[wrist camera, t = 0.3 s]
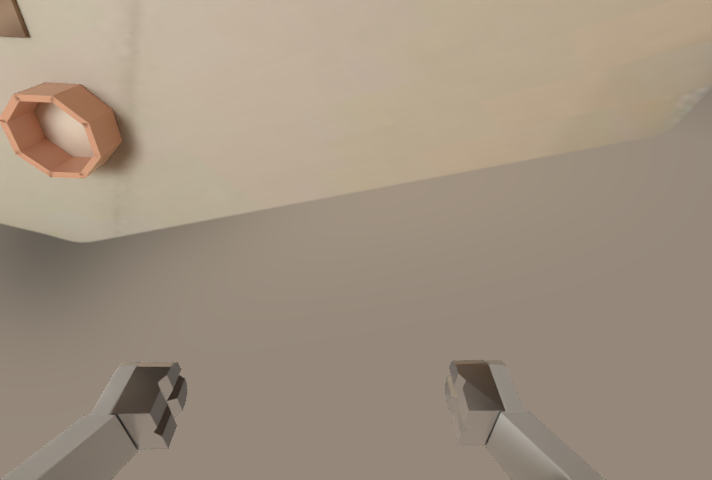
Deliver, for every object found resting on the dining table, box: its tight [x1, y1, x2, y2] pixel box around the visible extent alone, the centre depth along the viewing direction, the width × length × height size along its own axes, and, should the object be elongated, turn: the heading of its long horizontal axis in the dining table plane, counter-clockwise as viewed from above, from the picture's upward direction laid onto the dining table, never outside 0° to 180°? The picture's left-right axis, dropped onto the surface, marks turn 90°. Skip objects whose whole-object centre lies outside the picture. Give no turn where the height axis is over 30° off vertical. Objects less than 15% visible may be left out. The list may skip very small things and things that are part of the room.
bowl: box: [0, 83, 122, 178], centre depth 52 cm, size 11×11×6 cm
